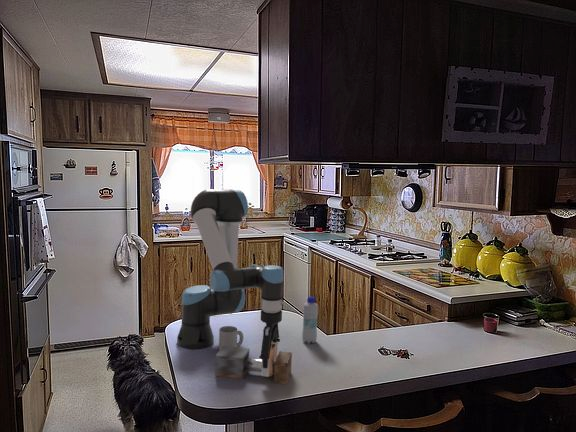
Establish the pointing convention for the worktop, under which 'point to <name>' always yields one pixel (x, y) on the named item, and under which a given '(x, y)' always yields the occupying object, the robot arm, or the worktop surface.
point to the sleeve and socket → (233, 364)
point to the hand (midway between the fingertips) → (269, 367)
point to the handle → (260, 362)
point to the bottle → (310, 320)
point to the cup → (229, 337)
